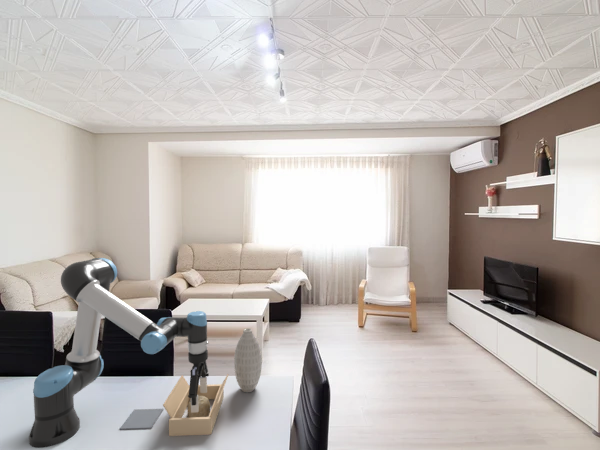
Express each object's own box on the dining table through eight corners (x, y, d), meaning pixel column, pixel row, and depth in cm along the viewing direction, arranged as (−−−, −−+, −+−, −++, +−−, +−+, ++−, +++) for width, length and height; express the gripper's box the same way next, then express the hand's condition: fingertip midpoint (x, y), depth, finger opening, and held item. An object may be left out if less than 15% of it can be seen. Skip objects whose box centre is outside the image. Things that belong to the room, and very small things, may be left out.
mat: (119, 429, 123) (119, 428, 123) (134, 410, 135) (134, 409, 135) (151, 428, 123) (151, 427, 123) (163, 409, 135) (163, 408, 135)
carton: (162, 436, 119) (161, 406, 118) (183, 398, 143) (182, 373, 143) (218, 434, 120) (217, 404, 119) (229, 397, 144) (229, 372, 144)
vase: (259, 396, 144) (259, 334, 143) (231, 396, 144) (230, 334, 144) (263, 381, 157) (263, 325, 156) (237, 381, 157) (236, 325, 156)
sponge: (196, 432, 127) (209, 414, 125) (178, 416, 128) (190, 398, 127) (208, 417, 136) (220, 400, 134) (190, 403, 137) (202, 385, 136)
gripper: (199, 364, 118) (200, 420, 119) (214, 338, 143) (215, 385, 144) (178, 365, 118) (180, 421, 119) (197, 338, 143) (198, 385, 144)
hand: (199, 401), depth 131 cm, fingers open, 13 cm apart
